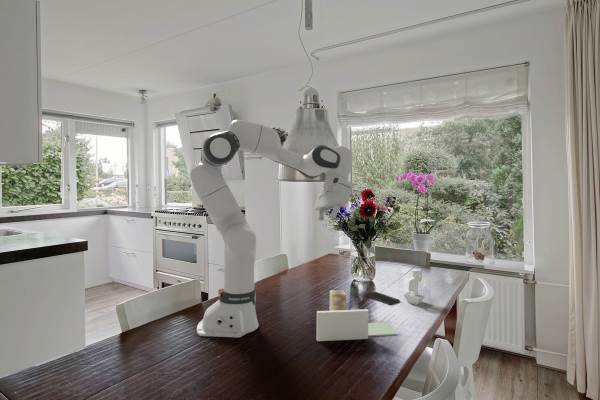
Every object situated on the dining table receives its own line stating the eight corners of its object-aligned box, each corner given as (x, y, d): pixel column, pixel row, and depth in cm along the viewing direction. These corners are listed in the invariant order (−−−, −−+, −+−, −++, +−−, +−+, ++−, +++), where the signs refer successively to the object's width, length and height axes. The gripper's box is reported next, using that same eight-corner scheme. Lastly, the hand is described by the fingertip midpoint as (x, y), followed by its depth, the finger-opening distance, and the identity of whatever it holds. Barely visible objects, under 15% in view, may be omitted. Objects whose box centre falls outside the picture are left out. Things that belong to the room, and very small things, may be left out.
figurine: (402, 303, 161) (402, 270, 160) (411, 298, 168) (412, 266, 166) (417, 307, 156) (418, 273, 155) (426, 301, 162) (428, 269, 161)
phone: (375, 291, 174) (400, 300, 162) (375, 293, 174) (400, 302, 163) (364, 294, 169) (389, 303, 158) (363, 297, 170) (389, 306, 158)
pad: (369, 336, 127) (369, 335, 127) (361, 324, 137) (361, 323, 137) (396, 335, 128) (396, 333, 128) (386, 323, 138) (386, 322, 138)
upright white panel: (317, 341, 123) (317, 312, 122) (316, 339, 125) (316, 311, 124) (368, 338, 125) (368, 310, 125) (366, 336, 127) (367, 309, 126)
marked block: (332, 332, 130) (332, 295, 129) (329, 326, 135) (329, 290, 134) (345, 332, 130) (346, 294, 129) (342, 326, 136) (342, 289, 135)
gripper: (315, 188, 148) (307, 219, 144) (342, 176, 130) (333, 212, 126) (328, 193, 151) (320, 224, 146) (356, 183, 133) (348, 218, 128)
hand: (326, 218), depth 136 cm, fingers open, 8 cm apart
